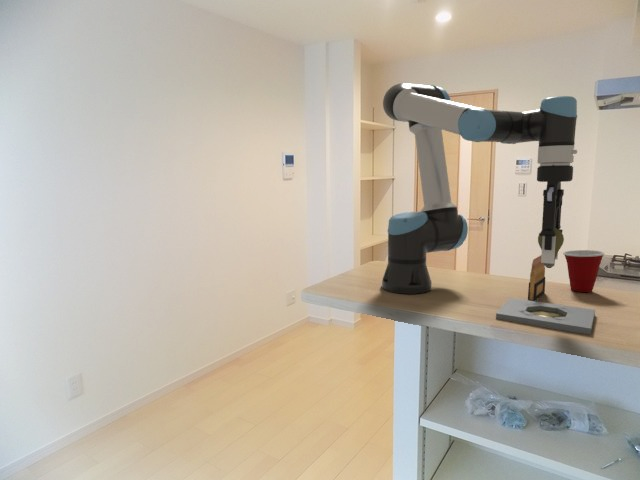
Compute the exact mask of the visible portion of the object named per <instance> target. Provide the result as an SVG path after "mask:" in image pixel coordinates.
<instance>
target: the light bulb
mask: <svg viewBox="0 0 640 480" xmlns="http://www.w3.org/2000/svg"><path fill="white" fill-rule="evenodd" d="M539 233H541V231H540V232H539ZM555 236H556V241H555V257H554V264H550V263H544V265H545V268H547V269H551V268H553V267H555V263H556V259H555V258H556V256H557V254H559V250H560V249H561V248H562V247H563V244H564V241H565V238H564V235H563V231H562V232H561V231H560V230H558V229H556V228H555ZM542 238H543V236H539V235H538V237H537V243H538V245H539V247H540V250H541V251H542Z"/></svg>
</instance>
